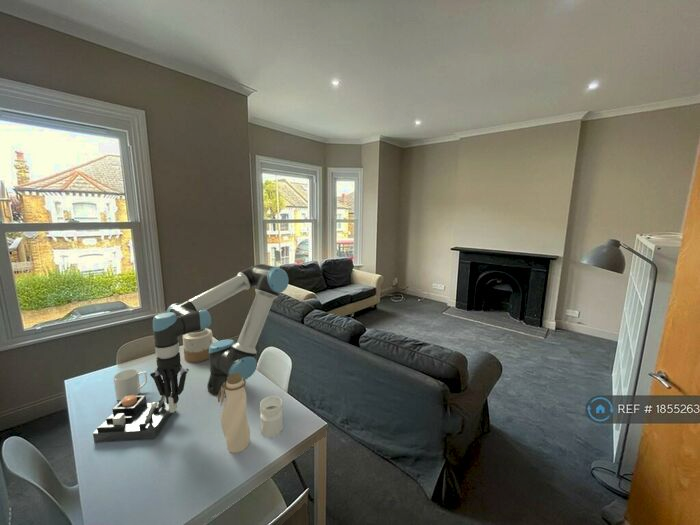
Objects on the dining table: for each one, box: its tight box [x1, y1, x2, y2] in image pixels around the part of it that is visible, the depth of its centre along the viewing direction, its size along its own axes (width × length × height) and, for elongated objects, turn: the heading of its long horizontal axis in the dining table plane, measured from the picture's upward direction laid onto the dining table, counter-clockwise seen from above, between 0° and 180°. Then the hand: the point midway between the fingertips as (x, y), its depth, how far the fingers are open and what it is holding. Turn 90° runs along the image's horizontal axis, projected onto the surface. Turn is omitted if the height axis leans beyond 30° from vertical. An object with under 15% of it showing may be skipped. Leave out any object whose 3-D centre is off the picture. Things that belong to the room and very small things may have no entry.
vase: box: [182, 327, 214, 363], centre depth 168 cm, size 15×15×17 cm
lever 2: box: [157, 395, 166, 408], centre depth 119 cm, size 2×3×8 cm
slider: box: [113, 413, 125, 425], centre depth 109 cm, size 2×3×4 cm
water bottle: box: [217, 373, 251, 454], centre depth 104 cm, size 10×9×28 cm
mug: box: [113, 368, 148, 402], centre depth 133 cm, size 12×9×11 cm
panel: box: [92, 394, 175, 444], centre depth 115 cm, size 21×16×8 cm
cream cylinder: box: [259, 395, 284, 438], centre depth 114 cm, size 9×9×12 cm
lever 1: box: [144, 401, 158, 424], centre depth 110 cm, size 2×3×8 cm
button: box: [122, 395, 138, 407], centre depth 118 cm, size 5×5×4 cm
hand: (173, 409), depth 111 cm, fingers closed
